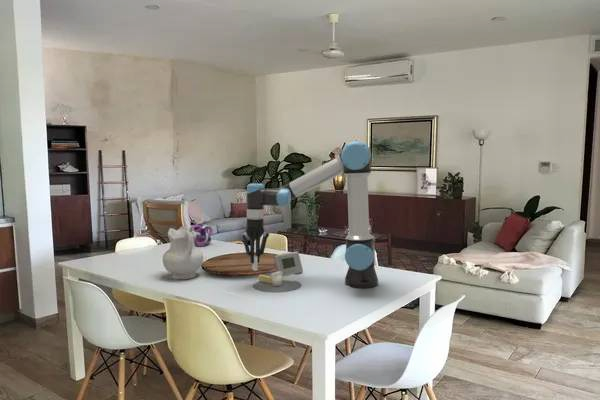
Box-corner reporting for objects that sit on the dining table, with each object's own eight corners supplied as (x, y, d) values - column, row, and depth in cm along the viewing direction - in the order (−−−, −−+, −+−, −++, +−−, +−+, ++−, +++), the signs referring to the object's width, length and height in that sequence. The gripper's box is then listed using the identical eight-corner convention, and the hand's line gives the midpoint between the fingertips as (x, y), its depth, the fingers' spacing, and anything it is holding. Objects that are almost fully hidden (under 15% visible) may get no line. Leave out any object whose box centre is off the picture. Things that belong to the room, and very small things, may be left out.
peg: (284, 284, 208) (284, 272, 208) (276, 286, 204) (276, 274, 204) (263, 279, 217) (263, 267, 216) (255, 281, 213) (255, 269, 212)
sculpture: (184, 248, 311) (189, 242, 293) (188, 224, 316) (193, 217, 299) (207, 251, 316) (213, 245, 298) (210, 227, 322) (216, 221, 304)
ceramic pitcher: (213, 279, 225) (215, 228, 225) (178, 284, 211) (180, 230, 210) (188, 272, 240) (190, 224, 239) (154, 276, 226) (156, 225, 225)
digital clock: (279, 278, 222) (278, 257, 221) (269, 275, 230) (269, 253, 229) (306, 274, 231) (306, 253, 230) (297, 270, 239) (297, 250, 238)
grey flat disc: (311, 286, 209) (311, 284, 209) (278, 297, 192) (278, 295, 192) (276, 278, 223) (276, 276, 223) (242, 287, 207) (242, 285, 207)
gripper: (265, 216, 212) (265, 267, 214) (238, 217, 207) (238, 269, 209) (271, 218, 205) (271, 270, 208) (243, 220, 200) (243, 273, 202)
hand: (254, 270), depth 208 cm, fingers closed
